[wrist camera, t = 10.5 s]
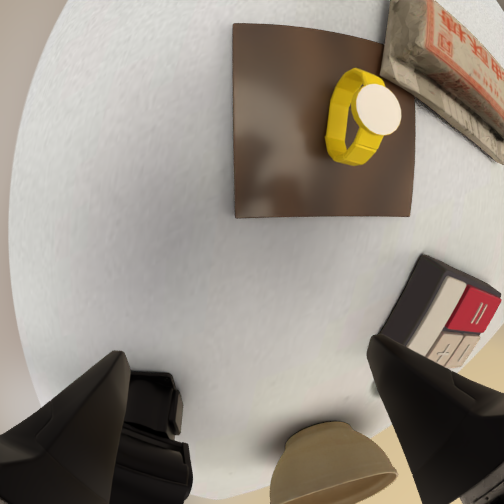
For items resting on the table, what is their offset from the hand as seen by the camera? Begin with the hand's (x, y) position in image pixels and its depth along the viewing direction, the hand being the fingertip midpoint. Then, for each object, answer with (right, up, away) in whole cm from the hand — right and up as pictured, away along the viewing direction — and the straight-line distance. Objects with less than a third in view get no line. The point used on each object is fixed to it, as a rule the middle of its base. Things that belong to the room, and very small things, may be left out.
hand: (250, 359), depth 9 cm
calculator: (+21, -3, +16) cm, 27 cm away
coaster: (+6, +13, +8) cm, 17 cm away
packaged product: (+19, +19, +7) cm, 28 cm away
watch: (+6, +13, +8) cm, 16 cm away
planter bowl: (+9, -22, +23) cm, 33 cm away
